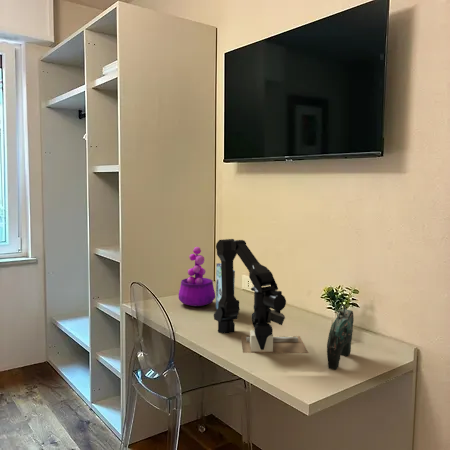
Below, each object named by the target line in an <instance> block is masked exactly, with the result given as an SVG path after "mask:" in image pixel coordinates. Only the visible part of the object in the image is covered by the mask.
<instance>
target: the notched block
mask: <svg viewBox="0 0 450 450" xmlns="http://www.w3.org/2000/svg"><path fill="white" fill-rule="evenodd" d="M249 336H250V347H251V352H273V336H274V334H273V333H272V334H271V335H270V336H268V337H267V340H266V343H265V347H264V350H261V349H260V346H259V343H258V341H257V338H256V335H255V332H254V329H253V330H251V329H250V330H249Z"/></svg>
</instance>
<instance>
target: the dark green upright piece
mask: <svg viewBox="0 0 450 450" xmlns="http://www.w3.org/2000/svg"><path fill="white" fill-rule="evenodd" d="M342 308H343V309H342ZM337 311H338V313H337V316H336V318H335V320H334V321H333V322H332V323H331V325H330V329H329V332H328V336H327V337H328V338H327V343H326V355H327V366H328V369H329V370H335V371H336V370H338V369H339V365H340V360H341V356H343V357H349V355H351V351H352V340H353V331H354V329H353V328H354V327H353V326H354V318H355V317H354V311H353V310H351V309H347V307H346V305H345V304H343V303H342V304H341V305H340V310H339V309H338V310H337Z"/></svg>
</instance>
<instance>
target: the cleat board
mask: <svg viewBox="0 0 450 450" xmlns="http://www.w3.org/2000/svg"><path fill="white" fill-rule="evenodd" d="M240 343H241V347H242V353H243V354H248V353H249V354H251V353H252V354H253V353H254V354H261V353H262V354H309V351H308V349H307V347H306V345H305V343H304V341H303V340H302V338H301V336H300V335H298V336H297V335H296V336H295V335H294V336H293V335H287V336H285V335H279V336H278V335H273V352H251V347H250V335H240Z"/></svg>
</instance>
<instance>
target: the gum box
mask: <svg viewBox="0 0 450 450" xmlns="http://www.w3.org/2000/svg"><path fill="white" fill-rule="evenodd" d="M215 265H216V272H215V274H216V275H215V309H216V310H217V309H218V303H219V301H220V299H221V297H222V275H221V262H219V263H215ZM233 272H234V283H235V280H236V279H235V278H236V270H234V269H233Z"/></svg>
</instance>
